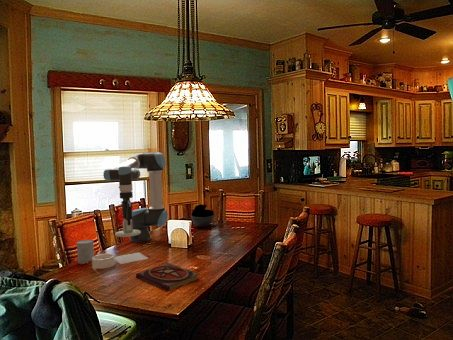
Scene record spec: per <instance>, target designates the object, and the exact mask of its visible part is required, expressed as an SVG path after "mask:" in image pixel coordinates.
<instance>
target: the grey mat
mask: <svg viewBox="0 0 453 340" xmlns="http://www.w3.org/2000/svg"><path fill="white" fill-rule="evenodd" d="M144 260H149V257H147V256H146V255H144V254H142V252H139V251H138V252H134V253H128V254H123V255H118V256H115V262H117V263H118V264H120V265H123V264H128V263H133V262H139V261H144Z"/></svg>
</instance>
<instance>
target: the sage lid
mask: <svg viewBox="0 0 453 340" xmlns="http://www.w3.org/2000/svg"><path fill="white" fill-rule="evenodd" d="M122 229H123V230H119V231H116V232H115V233H114V234H115V236H116V237H117V238H118V237H119V238H127V237H129V238H130V236H136V235H139V234H140V233H141V231H140V230H133V225H132V220H131V230H129V231H127V230H126V221H124V220H122Z"/></svg>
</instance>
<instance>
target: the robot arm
mask: <svg viewBox="0 0 453 340" xmlns="http://www.w3.org/2000/svg"><path fill="white" fill-rule="evenodd" d="M166 162H167V161H166V157H165V156H164V153H162V152H157V151H156V152H141V153H138V154H134V155H132V156H130V157H129V158H128V159H127V160H126V161H124V162H122V163H120V164H119V165H117V166H115V167H113V168H106V169H104V170H103V175H102V176H103V178H104V179H103V180H104V181H106V182H107V181H109V182H112V181H113V182H114V181H115V182H116V181H118V185H119V186H118V189H119V199H122V201H121V212H122V217H123V221H126V230H127V231H129V230H131V220H132V225H133V230H140V231H141V233H140V234H139V235H136V236H130V237H129V242H131V243H142V242H147V241H148V242H149V241H150V240H152V239H151V238H152V237H151V236H152V235H151V233H150V230H149V227H164V226H165V225H166V224H167V222H168V221H167V220H168V217H169V213H168V210H166V209H165V206H164V205H163V187H162V186H163V184H162V183H163V182H162V173H163V172H164V169H165V168H166V164H167V163H166ZM139 169H140V170H141V169H142V170H143V169H146V172H147V173H148V176H149V197H150V198H149V200H150V202H149V203H150V206H149V207H148V208H147V207H142V208H136V209H133V203H132V201H131V199H133V181H136V180H138V179H140V177H141V171H140V170H139Z"/></svg>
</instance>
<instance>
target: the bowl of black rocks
mask: <svg viewBox="0 0 453 340" xmlns="http://www.w3.org/2000/svg"><path fill="white" fill-rule="evenodd" d="M207 207H208V205H207V204H197V205H196V206H195V207H194V209H193V210H192V212H191V216H190V218H191V221H192V222H193V224H194V225H195V226H197V227H201V228H206V227H208V226H210V225H212V223H213V222H214V220H215V216H216V215H215V212H214V210H213V209H206V208H207Z"/></svg>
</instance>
